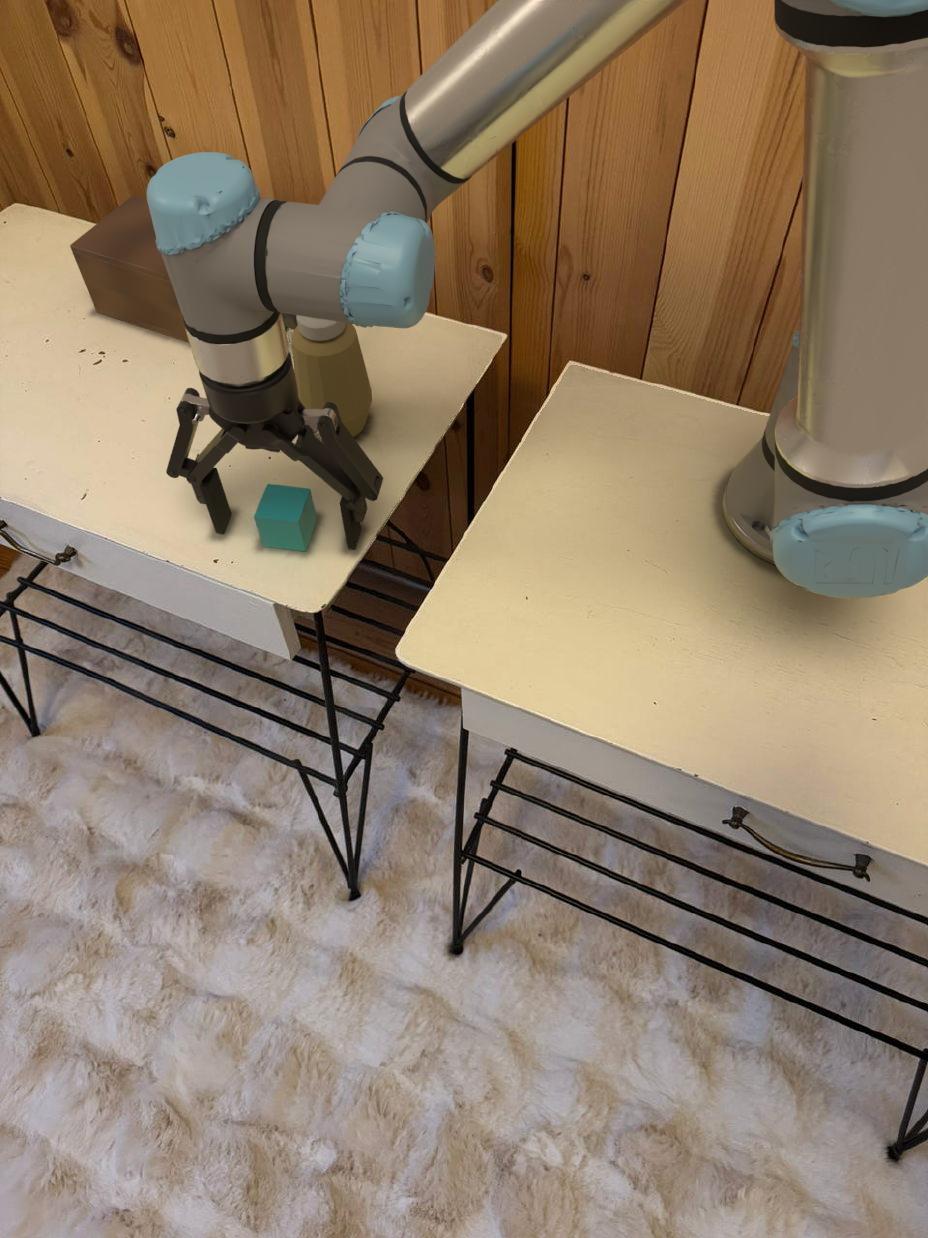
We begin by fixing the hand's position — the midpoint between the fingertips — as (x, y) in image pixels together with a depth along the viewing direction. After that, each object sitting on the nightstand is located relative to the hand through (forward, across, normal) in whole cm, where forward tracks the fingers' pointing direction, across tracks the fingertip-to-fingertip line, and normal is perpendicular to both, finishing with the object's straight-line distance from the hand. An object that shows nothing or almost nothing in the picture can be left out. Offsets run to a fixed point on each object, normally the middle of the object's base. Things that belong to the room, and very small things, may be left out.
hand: (288, 531), depth 91 cm
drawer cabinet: (0, +25, -34) cm, 43 cm away
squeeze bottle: (0, -1, -16) cm, 16 cm away
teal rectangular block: (0, 0, 0) cm, 0 cm away
